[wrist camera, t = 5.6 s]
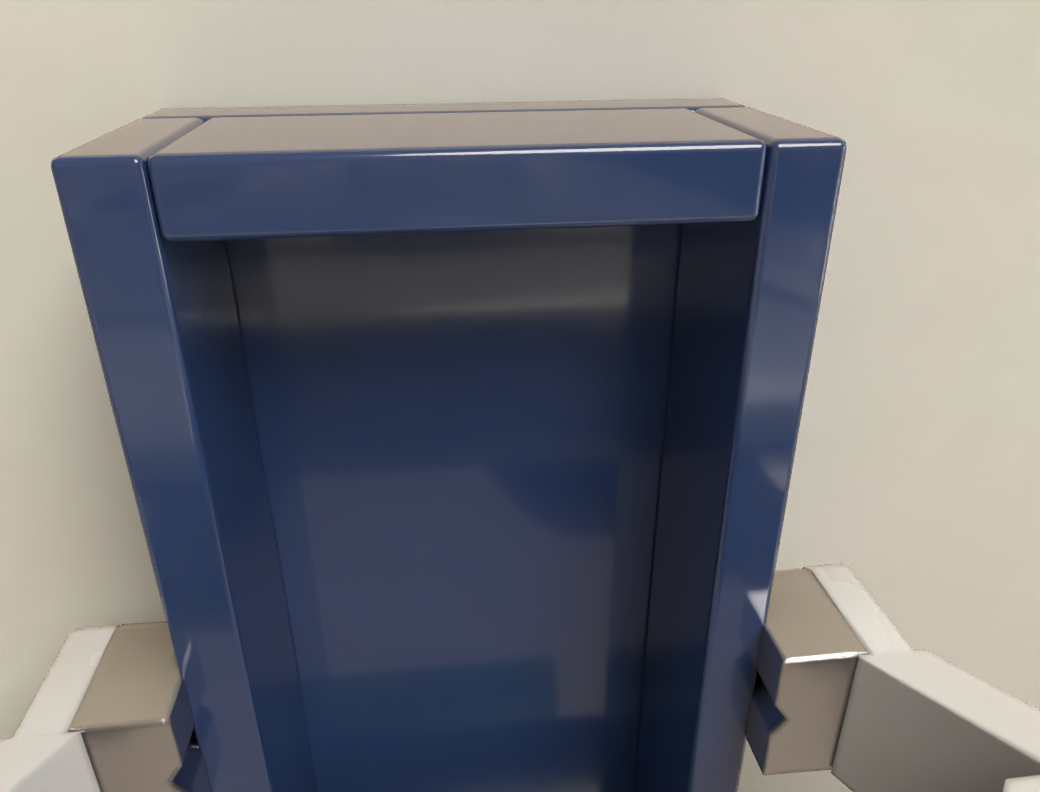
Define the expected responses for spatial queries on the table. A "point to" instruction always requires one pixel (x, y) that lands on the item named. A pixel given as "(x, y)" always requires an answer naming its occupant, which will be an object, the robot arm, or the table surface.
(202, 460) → the low blue storage tray
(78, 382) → the table surface
